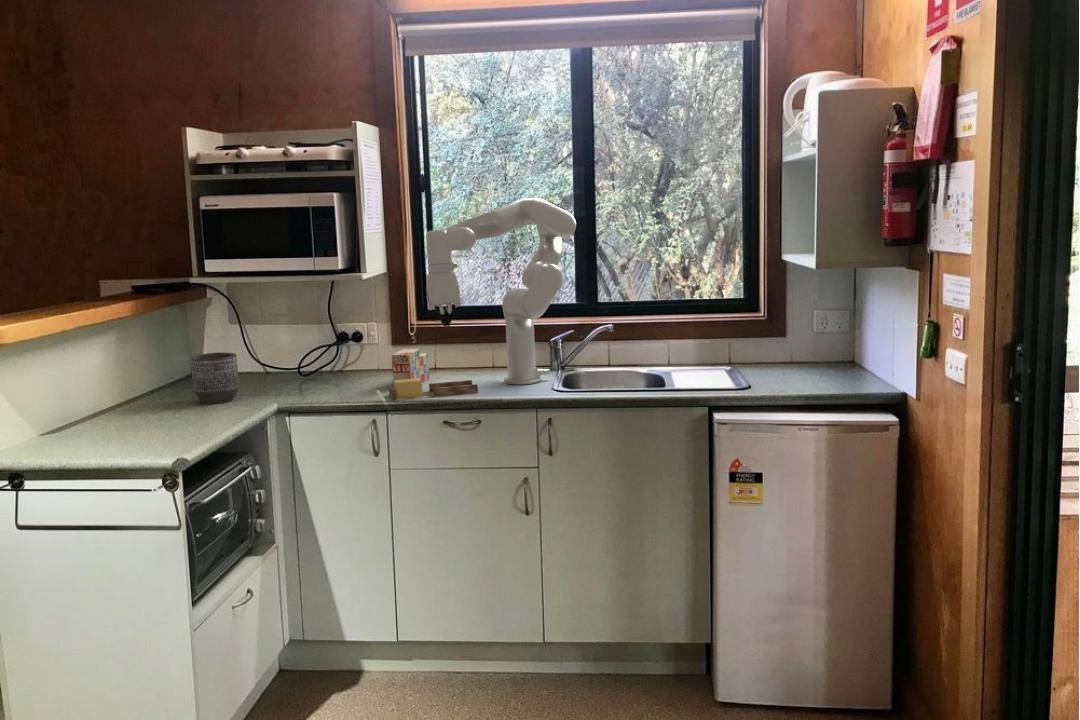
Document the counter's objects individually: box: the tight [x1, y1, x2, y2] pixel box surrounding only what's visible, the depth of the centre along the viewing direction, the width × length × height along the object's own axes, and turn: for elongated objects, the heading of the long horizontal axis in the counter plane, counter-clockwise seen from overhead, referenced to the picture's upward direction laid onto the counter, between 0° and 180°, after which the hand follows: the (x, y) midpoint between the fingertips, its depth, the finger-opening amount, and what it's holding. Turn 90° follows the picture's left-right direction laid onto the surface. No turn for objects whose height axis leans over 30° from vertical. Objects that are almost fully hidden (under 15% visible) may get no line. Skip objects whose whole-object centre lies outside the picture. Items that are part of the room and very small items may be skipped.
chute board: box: [388, 379, 479, 401], centre depth 302 cm, size 27×10×3 cm, turn 107°
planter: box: [190, 351, 240, 405], centre depth 306 cm, size 14×14×15 cm
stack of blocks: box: [391, 348, 430, 386], centre depth 324 cm, size 21×6×12 cm, turn 170°
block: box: [393, 378, 423, 399], centre depth 300 cm, size 8×5×5 cm, turn 107°
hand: (446, 325), depth 304 cm, fingers closed
